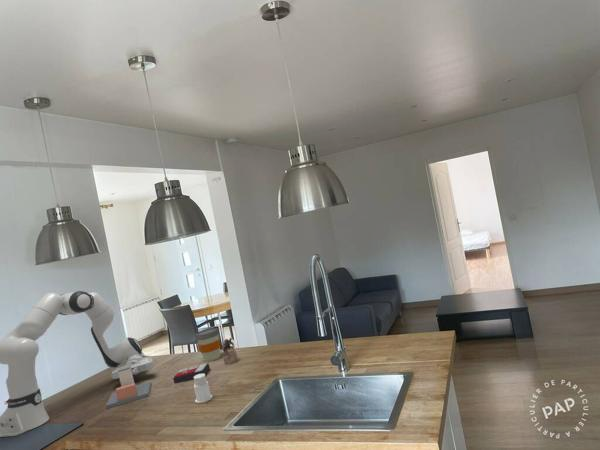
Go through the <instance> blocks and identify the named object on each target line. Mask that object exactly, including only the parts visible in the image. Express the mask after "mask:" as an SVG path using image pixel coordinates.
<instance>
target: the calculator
mask: <svg viewBox="0 0 600 450" xmlns="http://www.w3.org/2000/svg"><path fill="white" fill-rule="evenodd" d="M210 371H211V368H210V364H209V363H208V362H206V363H202V364H198V365H197V364H196V365H193V366H190V367H184V368H182V369H179V370H178V372H177V373H176V374H174V376H173V378H172V380H173V383H174V384H179V383H183V382H188V381H194V376H196V375H198V374H205V377H206V376H207V375H208V374H209V372H210Z"/></svg>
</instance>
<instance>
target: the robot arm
mask: <svg viewBox="0 0 600 450" xmlns="http://www.w3.org/2000/svg"><path fill="white" fill-rule="evenodd" d="M82 313H85V314H86V316H87V317H88V318H89V320H90V322H91V327H90V332H91V334H92V337H93V340H94V342H95V344H96V346H97V348H98V350H99V352H100V353H101V356H102V358H103V360H104V363H105V365H106V366H107V367H108V368H114V369H113V370H112V372H111V378H112V379H113V380H117V379H120V378H119V374H118V369H119V368H122V367H126V366H129V365H131V371H132V375H133V376H136V375H139V374H140V373H142V372H144V371H148V370H151V369H154V368H155V365H154V361H153V358H152V357H151V355H145V353H144V352H143V348H142V345H141V344H140V342H139V341H138V340H137V339H136V338H133V337H129V336H128V337H127V338H125V339H124V340H121V341H120V342H119V343H117V344H116V345H114V346H113V347H109V345H108V343H107V342H106V340H105V338H104V334H105V332H106V331H107V330H108V328H109V327H110V325H111V324H112V323H113V321H114V317H115V314H114V313H115V312H114V310H113V309H112V307H111V306H110V304H109V303H108V302H107V301H106V299H104V298H103V296H101V295H100V294H99V293H98V292H96V291H92V292H86V291H84V290H77V291H70V292H67V293H64V294H63V293H62V294H58V293H56V292H48V293H46V294H45V295H43V296H41V298H40V299H39V300H38V301H37V302H36V303H35V304H34V305H33V306H32V308H31V309H30V310H29V311H28V312H27V314H26V315H25V316H24V318H23V319H22V320H21V321H20V322H19V323H18V324H17V325H16V326H15V327H14V328H13V329H12V330H11V331H10V332H8V334H6V335H5V336H4V338H2V339H1V340H0V365H7V366H8V367H7V369H8V372H7V377H6V380H5V384H6V389H7V393H8V400H6V401H4V405H7V408H6V409H5V411H3V413H2V414H1V415H0V438H2V437H15V436H19V435H21V434H23V433H25V432H28V431H30V430H33V429H35V428H38V427H40V426H41V425H43V424H45V423H46V422H47V423H48V421H49V420H50V416H49V415H48V412H47V410H46V408H45V406H44V403H43V401H42V400H43V399H42V393H41V389H40V388H39V385H38V380H37V377H36V376H37V375H36V360H37V359H36V358H37V356H38V354H39V349H40V347H39V344H38V343H37V342H36V341H37V340H38V339H39V338H41V337H42V336H44V335H45V334H46V332H47V330H48V329H49V327H51V325H52V324H53V322H54V321H55V320H56V318H57V317H58V315H62V316H69V315H72V316H73V315H77V314H82ZM125 361H126V363H125V365H122V366H121V364H122V363H123V362H125ZM119 365H120V367H118V366H119Z"/></svg>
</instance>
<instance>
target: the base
mask: <svg viewBox="0 0 600 450" xmlns="http://www.w3.org/2000/svg"><path fill="white" fill-rule="evenodd" d="M152 385H153V384H152V380H151V381H147V382H143V383H140V384H136V383H135V382H134V383H133V384H130V385H126V386H123V387H121V386H120V387H116V389H115V391H112V392H111V394H110V396H109V398H108V401H107V402H106V404H105V409H106V410H107V409H111V408H114V407H118V406H120V404H121V405H124V403H125V404H127V402H128V403H130V402H131V403H132V402H134V401H138V400H142V399H144V398H147V397H148V398H149V396H150V393H151V389H152ZM117 405H118V406H117Z"/></svg>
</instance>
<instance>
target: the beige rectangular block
mask: <svg viewBox="0 0 600 450" xmlns="http://www.w3.org/2000/svg"><path fill="white" fill-rule="evenodd" d="M125 366H126V365H125ZM121 367H122V368H119V367H118V368H119V369H118V374H119V378H118V379H119V382H120V387H123V386H126V385H130V384H133V383H135V380H134V375H132V371H131V365H129V366H126V367H123V366H121Z"/></svg>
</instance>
